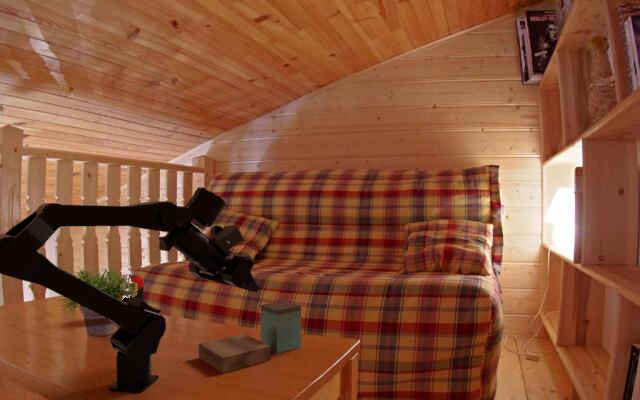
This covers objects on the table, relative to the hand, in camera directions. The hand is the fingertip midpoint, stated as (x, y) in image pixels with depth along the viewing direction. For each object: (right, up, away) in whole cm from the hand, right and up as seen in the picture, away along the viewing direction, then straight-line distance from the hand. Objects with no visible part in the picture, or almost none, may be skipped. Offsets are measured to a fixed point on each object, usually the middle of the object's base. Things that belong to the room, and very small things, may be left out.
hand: (245, 287), depth 101 cm
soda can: (-37, -14, +29) cm, 49 cm away
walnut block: (-2, -14, -4) cm, 15 cm away
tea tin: (+7, -14, +4) cm, 17 cm away
